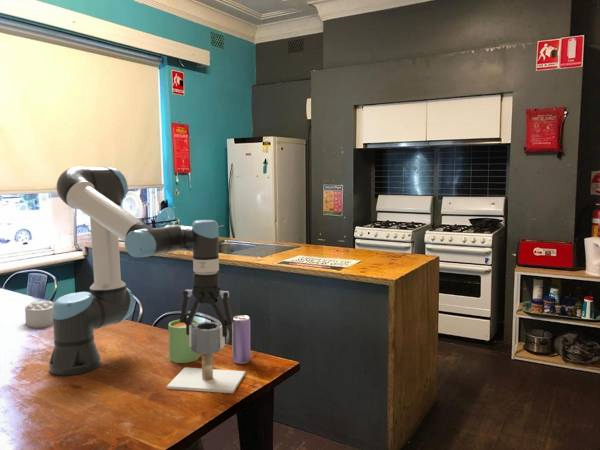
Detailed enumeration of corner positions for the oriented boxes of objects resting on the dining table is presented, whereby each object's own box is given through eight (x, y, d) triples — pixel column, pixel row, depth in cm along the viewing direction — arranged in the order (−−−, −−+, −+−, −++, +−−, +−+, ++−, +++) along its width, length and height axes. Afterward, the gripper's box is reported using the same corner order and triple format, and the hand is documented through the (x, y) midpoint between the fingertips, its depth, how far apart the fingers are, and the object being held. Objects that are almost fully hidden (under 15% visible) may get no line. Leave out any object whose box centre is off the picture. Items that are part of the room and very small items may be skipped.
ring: (188, 352, 142) (188, 329, 141) (198, 342, 150) (198, 321, 149) (216, 355, 140) (216, 331, 140) (225, 344, 149) (225, 322, 148)
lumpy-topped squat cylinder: (50, 317, 211) (49, 298, 210) (58, 324, 201) (57, 304, 200) (23, 322, 204) (22, 302, 203) (30, 329, 194) (29, 308, 193)
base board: (166, 388, 141) (166, 386, 141) (184, 369, 155) (184, 367, 154) (233, 393, 138) (233, 390, 138) (245, 373, 152) (245, 371, 152)
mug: (206, 357, 166) (205, 323, 164) (180, 365, 158) (179, 330, 157) (185, 348, 174) (184, 315, 173) (159, 355, 167) (158, 321, 165)
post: (200, 380, 145) (200, 351, 144) (204, 375, 148) (203, 347, 147) (210, 380, 144) (210, 351, 143) (214, 376, 148) (213, 348, 147)
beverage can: (247, 365, 159) (246, 320, 157) (229, 363, 160) (229, 319, 158) (252, 358, 164) (252, 315, 163) (235, 357, 166) (235, 314, 164)
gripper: (166, 273, 141) (168, 348, 143) (237, 276, 138) (238, 352, 140) (176, 268, 148) (178, 340, 150) (244, 271, 145) (245, 343, 147)
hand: (207, 345), depth 145 cm, fingers closed on ring, 9 cm apart
